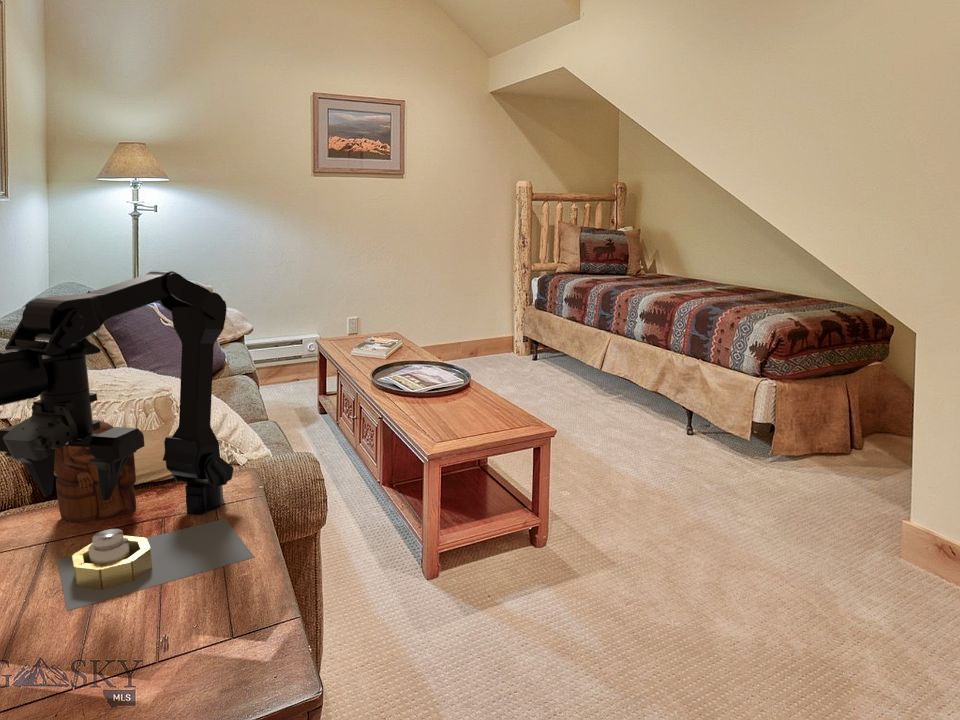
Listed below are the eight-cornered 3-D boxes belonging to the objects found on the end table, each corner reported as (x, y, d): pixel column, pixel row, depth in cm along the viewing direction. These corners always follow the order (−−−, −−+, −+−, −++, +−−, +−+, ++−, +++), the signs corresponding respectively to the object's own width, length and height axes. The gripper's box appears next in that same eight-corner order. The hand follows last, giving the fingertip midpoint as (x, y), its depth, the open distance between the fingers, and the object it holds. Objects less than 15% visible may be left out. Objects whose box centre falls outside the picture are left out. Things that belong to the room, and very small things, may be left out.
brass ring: (108, 552, 97) (106, 533, 96) (164, 557, 96) (162, 539, 95) (58, 585, 88) (56, 565, 87) (120, 592, 86) (117, 571, 86)
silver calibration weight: (108, 560, 95) (104, 525, 94) (139, 563, 94) (135, 528, 93) (82, 577, 90) (78, 541, 89) (115, 581, 89) (111, 544, 88)
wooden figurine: (60, 536, 105) (47, 431, 101) (60, 521, 110) (48, 421, 107) (141, 520, 111) (131, 421, 108) (137, 507, 116) (128, 412, 113)
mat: (225, 527, 109) (224, 518, 109) (255, 566, 96) (254, 557, 96) (58, 568, 95) (57, 559, 95) (68, 621, 82) (66, 610, 82)
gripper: (-51, 401, 81) (-34, 516, 84) (82, 409, 78) (95, 528, 81) (23, 382, 92) (36, 484, 95) (142, 388, 89) (151, 493, 92)
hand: (77, 497), depth 90 cm, fingers open, 9 cm apart
